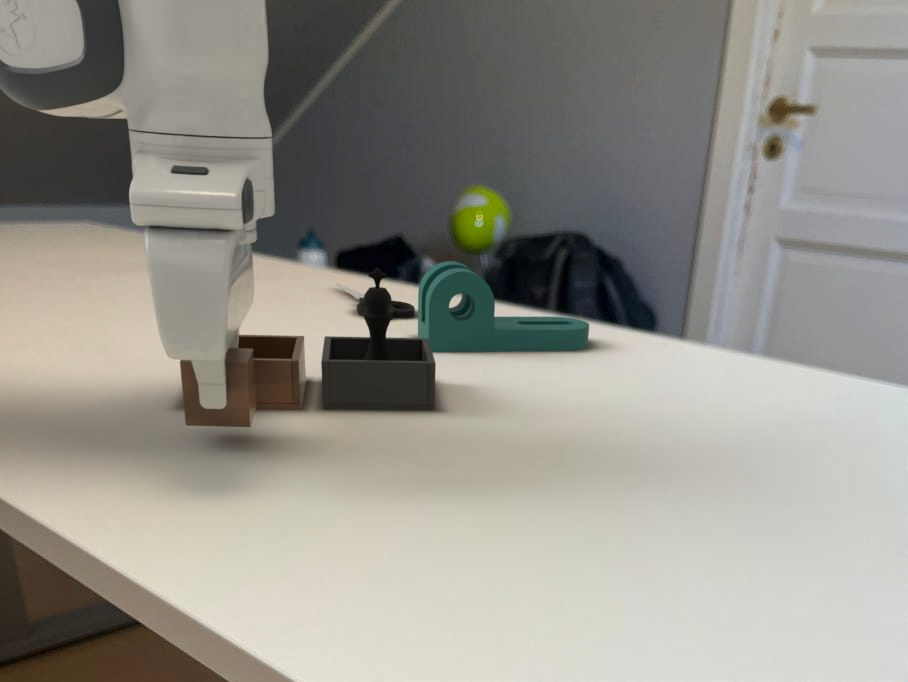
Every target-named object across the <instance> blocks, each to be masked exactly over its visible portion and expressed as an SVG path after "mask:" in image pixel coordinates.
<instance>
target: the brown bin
mask: <svg viewBox="0 0 908 682" xmlns="http://www.w3.org/2000/svg"><path fill="white" fill-rule="evenodd" d="M238 348H245V349H253V354H254V373H255V391H256V410H259V409H261V410H264V409H265V410H301V409H302V405H303V401H304V393H305V388H306V383H307V376H306V375H307V374H306V370H307V369H306V349H305V348H306V347H305V336H304V335H281V334H279V335H278V334H277V335H276V334H271V335H270V334H239V344H238Z"/></svg>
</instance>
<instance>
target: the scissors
mask: <svg viewBox="0 0 908 682" xmlns="http://www.w3.org/2000/svg"><path fill="white" fill-rule="evenodd" d="M335 285H336V286H337V287H338V288H340V289H341V290H343V291H344V292H346V293H348V294H349V295H350V296H352V297H353V298H354V299H356V300H358V303H357V304H356V313H357V314H358V315H360V316H363V317H364V313H366V311H367V308H366V305H365V303H364V295H365V294H364V293H361V292H359V291H357V290H354V289H352V288H350V287H346V286H344V285H341V284H339V283H335ZM389 313H390V314H391V315H392V318H391V319H393V318H394V317H397V318H411V317H414V316H415V313H416V308H415V306H414V305H413V304H411V303H408V302H405V301H400V300H399V301H398V300H393V299H391V304H390V306H389Z"/></svg>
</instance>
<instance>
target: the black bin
mask: <svg viewBox="0 0 908 682" xmlns="http://www.w3.org/2000/svg"><path fill="white" fill-rule="evenodd" d="M369 344H370V336H334V335H333V336H327V335H326V336H324V338H323V347H322V353H321V361H320V365H321V384H322V385H321V391H322V409H323V410H341V411H342V410H347V411H349V410H350V411H428V412H429V411H430V412H432V411H436V406H435V405H436V360H435V357H434V354H433V353H434V352H432V349H431V346H430V343H429V339H428V338H418V337H387V336H386V345H387V349H388V352H389V355H390V357H391V359H392V361H386V360H364V359H365V356H366V354H367V352H368V349H369Z"/></svg>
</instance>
